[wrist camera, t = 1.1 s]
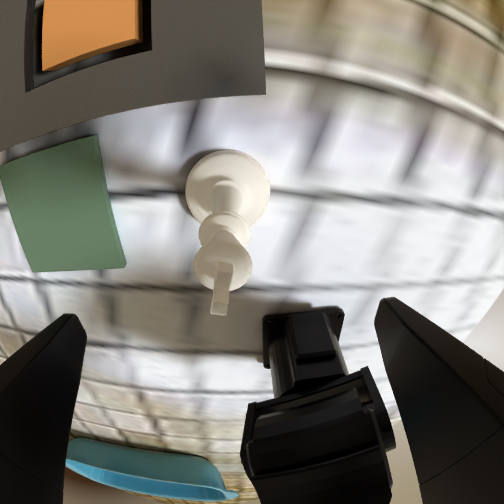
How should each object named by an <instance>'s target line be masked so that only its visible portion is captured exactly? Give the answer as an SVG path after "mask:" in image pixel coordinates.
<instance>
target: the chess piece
mask: <svg viewBox="0 0 504 504" xmlns="http://www.w3.org/2000/svg"><path fill="white" fill-rule="evenodd" d="M269 197H270V183H269V179H268V176H267V174H266V172H265V170H264V168H263V167H262V166H261V164H260V163H259V162H258V161H257V160H255V159H254V158H253V157H251V156H249V155H247V154H245V153H243V152H240V151H235V150H221V151H216V152H213V153H211V154H208V155H206V156H205V157H203V158H202V159H200V160H199V161H198V162H197V163H196V164H195V165H194V167H193V168H192V170H191V171H190V173H189V175H188V178H187V182H186V201H187V205H188V207H189V209H190V211H191V213H192V215H193V216H194V217H195V218H196V219H197V220H198V221H199V222H200V223H201V225H200V228H199V240H200V242H201V245H202V247H201V248H200V249H199V251H198V252H197V254H196V256H195V258H194V262H193V270H194V273H195V276H196V277H197V279H198V280H199V282H200V283H201V284H203V285H204V286H205V287H207V288H209V289H212V290H213V296H212V302H211V310H210V314H216V315H223V316H224V315H227V311H228V306H229V291H232V290H235V289H237V288H239V287H241V286H242V285H244V284H245V283H246V282H247V280H248V279H249V277H250V275H251V272H252V261H251V258H250V256H249V254H248V252H247V251H246V247H247V246H248V244H249V241H250V238H251V231H250V227H249V226H251V225H253V224H254V223H255V222H256V221H258V220H259V219H260V217H261V216H262V215H263V213H264V212H265V210H266V208H267V205H268V202H269Z"/></svg>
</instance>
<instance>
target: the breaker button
mask: <svg viewBox="0 0 504 504" xmlns="http://www.w3.org/2000/svg"><path fill="white" fill-rule="evenodd" d="M138 43H143V0H45V1H44V12H43V28H42V71H56V70H58V69H60V68H63V67H65V66H68V65H70V64H73V63H76V62H78V61H81V60H84V59H87V58H90V57H93V56H96V55H99V54H102V53H105V52H108V51H112V50H115V49H119V48H122V47H126V46H130V45H134V44H138Z"/></svg>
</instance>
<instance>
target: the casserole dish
mask: <svg viewBox="0 0 504 504" xmlns="http://www.w3.org/2000/svg"><path fill="white" fill-rule="evenodd" d="M66 467H68V468H69V469H71V470H73V471H75V472H77V473H79V474H81V475H83V476H85V477H87V478H89V479H92V480H94V481H97V482H100V483H102V484H106V485H109V486H112V487H116V488H120V489H124V490H129V491H133V492H138V493H143V494H148V495H154V496H160V497H167V498H175V499H184V500H195V501H224V500H228V499H232V498H236V497H238V496H239V494H238V493H237V492H236V491H233V490H226V487H225V485H224V482H223V479H222V477H221V475H220V472H219V471H218V469H217V468H216V467H215V466H214V465H213V464H212V463H211V462H209V461H208V460H206V459H204V458H202V457H197V456H191V455H184V454H175V453H167V452H159V451H152V450H145V449H139V448H131V447H128V446H122V445H117V444H112V443H107V442H102V441H98V440H93V439H88V438H83V437H78V438H75V439H72V440H71V441H69V443H68V450H67V457H66Z"/></svg>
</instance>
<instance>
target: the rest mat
mask: <svg viewBox="0 0 504 504" xmlns="http://www.w3.org/2000/svg"><path fill="white" fill-rule="evenodd" d="M0 178H1V182H2V186H3V190H4V193H5V197H6V201H7V204H8V207H9V211H10V214H11V217H12V220H13V223H14V226H15V229H16V232H17V234H18V237H19V240H20V243H21V245H22V248H23V250H24V253H25V255H26V258H27V260H28V263H29V265H30V267H31V270H32V272H54V271H75V270H95V269H115V268H124V267H125V265H126V260H125V256H124V253H123V249H122V246H121V242H120V239H119V235H118V231H117V228H116V224H115V220H114V216H113V212H112V208H111V203H110V199H109V194H108V190H107V185H106V180H105V175H104V170H103V165H102V160H101V154H100V148H99V142H98V135H97V134H96V135H92V136H88V137H84V138H81V139H77V140H73V141H70V142H66V143H63V144H60V145H56V146H53V147H50V148H47V149H44V150H41V151H38V152H35V153H32V154H29V155H26V156H23V157H21V158H18V159H15V160H13V161H10V162H8V163H5V164H3V165H1V166H0Z"/></svg>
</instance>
